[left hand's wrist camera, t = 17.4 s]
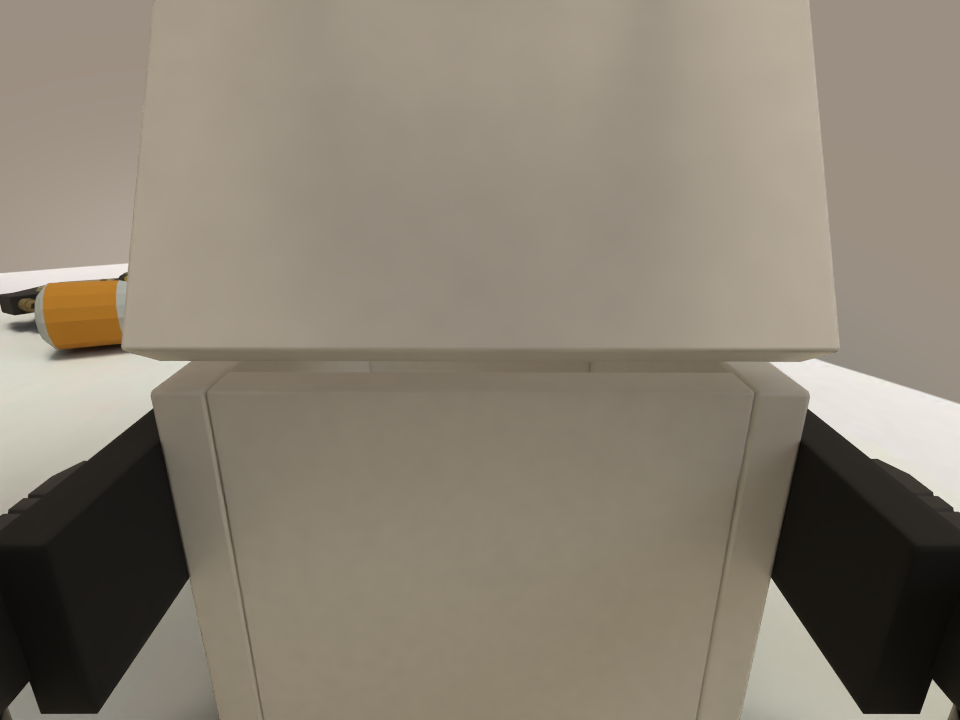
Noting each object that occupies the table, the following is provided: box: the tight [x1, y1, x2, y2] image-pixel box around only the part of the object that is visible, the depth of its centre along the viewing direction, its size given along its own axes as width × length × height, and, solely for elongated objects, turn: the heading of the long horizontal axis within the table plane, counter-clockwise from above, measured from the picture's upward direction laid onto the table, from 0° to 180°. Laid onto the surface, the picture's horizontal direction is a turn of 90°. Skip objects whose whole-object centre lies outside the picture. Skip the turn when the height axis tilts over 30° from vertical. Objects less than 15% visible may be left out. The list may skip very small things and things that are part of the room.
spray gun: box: [0, 272, 128, 350], centre depth 43 cm, size 4×17×15 cm
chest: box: [151, 361, 810, 720], centre depth 17 cm, size 14×10×9 cm
